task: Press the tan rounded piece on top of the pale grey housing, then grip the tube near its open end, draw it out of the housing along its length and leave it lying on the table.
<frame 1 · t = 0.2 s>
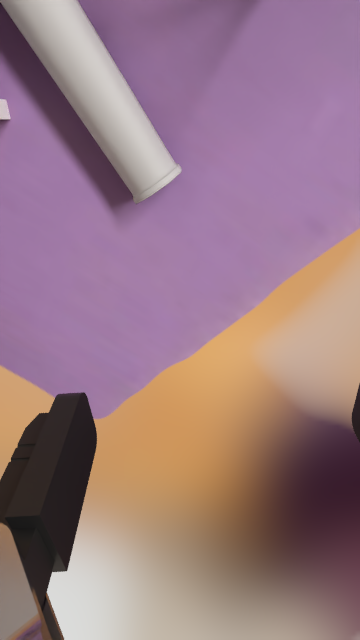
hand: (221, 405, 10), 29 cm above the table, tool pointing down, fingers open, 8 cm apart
tube: (76, 51, 29), on the table
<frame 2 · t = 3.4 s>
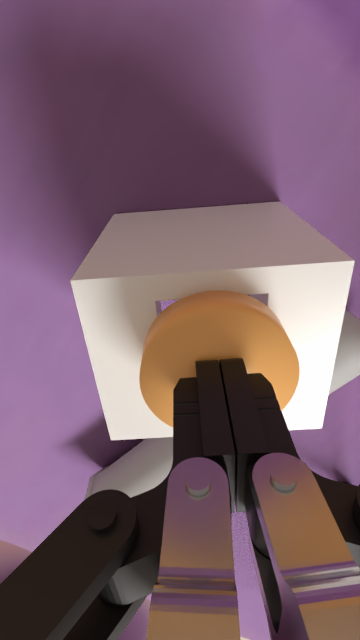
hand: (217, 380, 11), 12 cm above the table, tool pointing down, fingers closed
housing: (199, 272, 22), on the table
tan rounded piece: (214, 350, 13), point 10 cm above the table, slide at 1.3 cm, touching gripper
tube: (212, 400, 28), on the table
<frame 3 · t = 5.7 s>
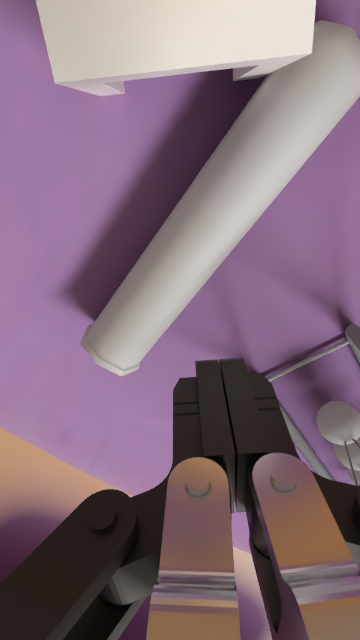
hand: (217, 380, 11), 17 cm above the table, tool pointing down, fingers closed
housing: (171, 0, 19), on the table
newton's cradle: (348, 434, 37), on the table
tube: (202, 215, 25), on the table
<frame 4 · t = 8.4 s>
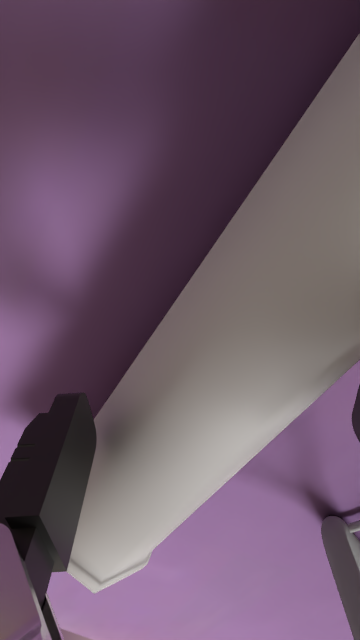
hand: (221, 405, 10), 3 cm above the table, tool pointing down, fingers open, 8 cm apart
tube: (300, 256, 11), on the table, touching gripper
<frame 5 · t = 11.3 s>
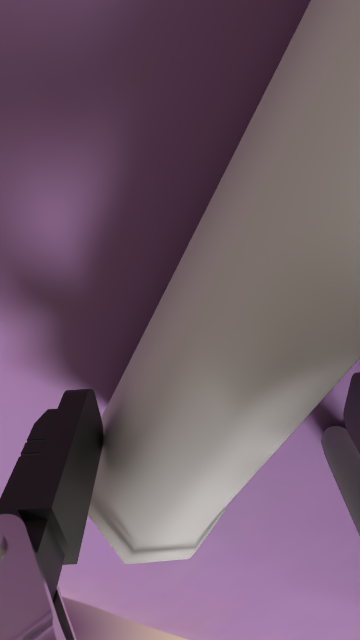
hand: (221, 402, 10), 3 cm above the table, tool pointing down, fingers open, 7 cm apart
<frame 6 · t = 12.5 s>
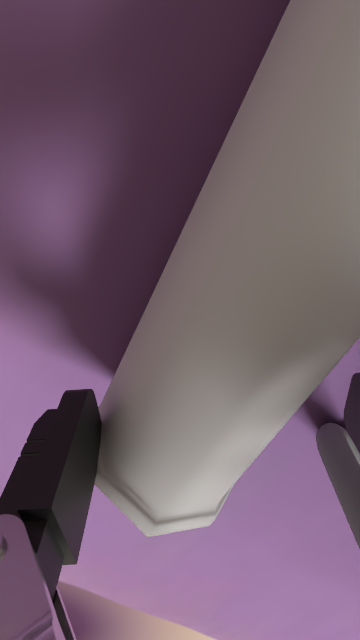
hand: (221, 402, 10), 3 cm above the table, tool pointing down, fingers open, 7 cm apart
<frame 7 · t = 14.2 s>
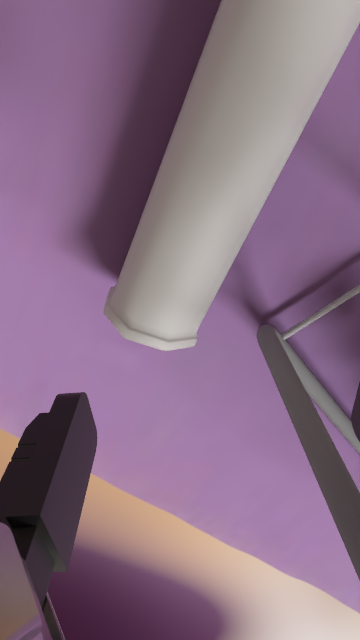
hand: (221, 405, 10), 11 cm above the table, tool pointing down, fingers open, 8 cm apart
tube: (294, 90, 15), point 1 cm above the table
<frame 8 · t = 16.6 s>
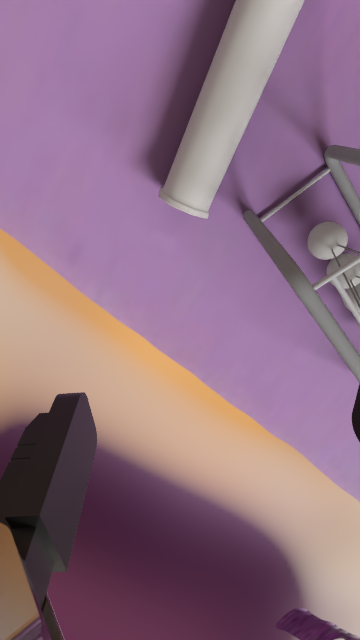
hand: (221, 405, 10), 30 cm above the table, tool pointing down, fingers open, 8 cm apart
newton's cradle: (343, 279, 41), on the table
tube: (260, 76, 30), point 1 cm above the table
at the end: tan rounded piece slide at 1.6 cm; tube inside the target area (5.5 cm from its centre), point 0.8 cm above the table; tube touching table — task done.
